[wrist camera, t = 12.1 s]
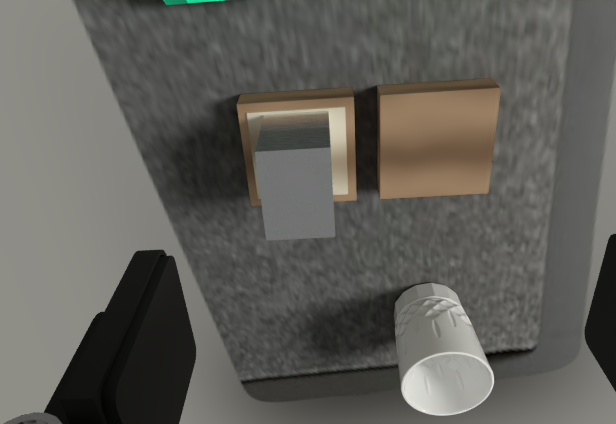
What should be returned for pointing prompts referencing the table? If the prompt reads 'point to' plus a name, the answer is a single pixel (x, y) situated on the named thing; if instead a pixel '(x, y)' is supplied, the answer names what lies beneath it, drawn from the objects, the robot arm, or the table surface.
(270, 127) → the block
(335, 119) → the stand
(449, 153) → the stand
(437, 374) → the white cup
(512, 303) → the table surface
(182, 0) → the camera mount
